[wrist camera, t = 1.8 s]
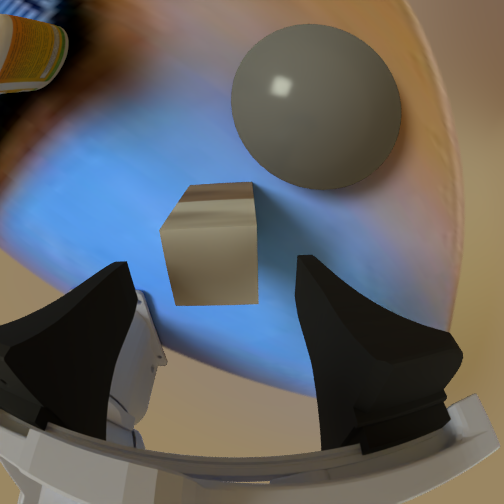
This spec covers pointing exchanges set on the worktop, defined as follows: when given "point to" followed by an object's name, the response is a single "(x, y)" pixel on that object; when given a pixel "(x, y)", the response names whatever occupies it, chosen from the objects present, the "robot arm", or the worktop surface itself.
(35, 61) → the supplement bottle
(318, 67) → the stand
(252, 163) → the worktop surface
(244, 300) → the block
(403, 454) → the robot arm
